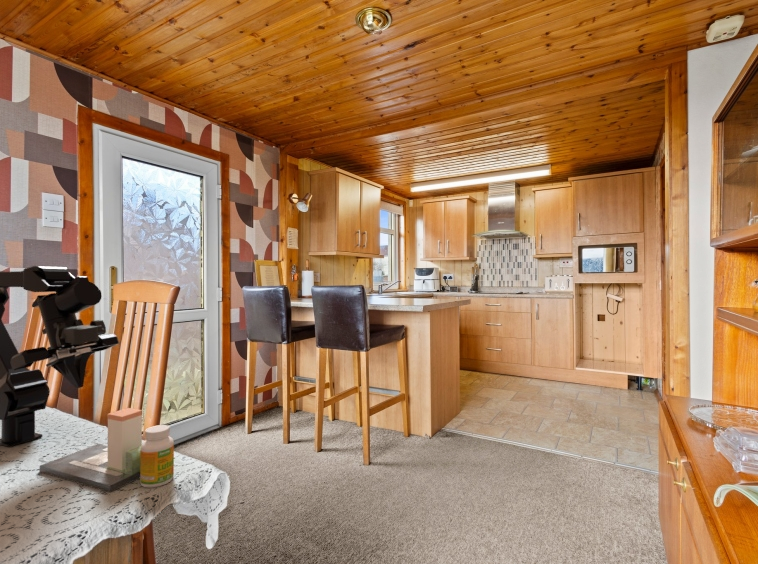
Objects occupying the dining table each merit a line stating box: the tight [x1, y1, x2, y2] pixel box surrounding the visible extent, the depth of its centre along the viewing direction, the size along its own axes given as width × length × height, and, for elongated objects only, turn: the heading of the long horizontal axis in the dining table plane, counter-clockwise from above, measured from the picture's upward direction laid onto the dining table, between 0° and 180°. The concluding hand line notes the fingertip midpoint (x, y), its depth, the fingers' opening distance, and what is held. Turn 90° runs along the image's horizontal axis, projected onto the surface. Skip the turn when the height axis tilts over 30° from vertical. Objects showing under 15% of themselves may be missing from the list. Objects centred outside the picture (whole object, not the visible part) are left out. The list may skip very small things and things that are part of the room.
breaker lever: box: [106, 407, 143, 470], centre depth 77 cm, size 4×4×10 cm
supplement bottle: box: [139, 424, 175, 488], centre depth 73 cm, size 5×5×10 cm
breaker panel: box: [39, 443, 141, 493], centre depth 78 cm, size 20×11×5 cm, turn 69°
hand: (80, 387), depth 87 cm, fingers closed
